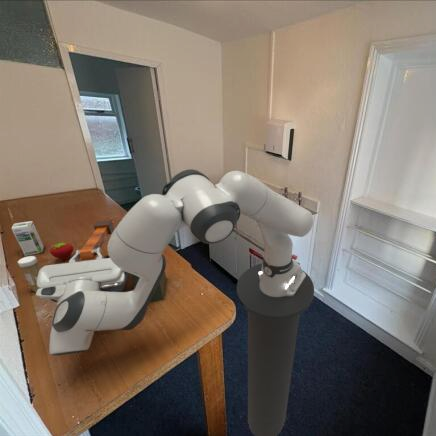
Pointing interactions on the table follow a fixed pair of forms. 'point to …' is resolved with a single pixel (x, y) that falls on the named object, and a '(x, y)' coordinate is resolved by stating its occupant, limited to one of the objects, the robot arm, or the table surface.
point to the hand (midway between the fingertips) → (89, 249)
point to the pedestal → (159, 291)
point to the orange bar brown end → (96, 239)
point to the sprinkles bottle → (30, 270)
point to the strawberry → (62, 250)
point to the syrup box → (27, 238)
